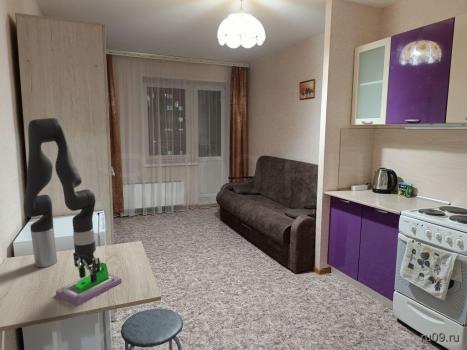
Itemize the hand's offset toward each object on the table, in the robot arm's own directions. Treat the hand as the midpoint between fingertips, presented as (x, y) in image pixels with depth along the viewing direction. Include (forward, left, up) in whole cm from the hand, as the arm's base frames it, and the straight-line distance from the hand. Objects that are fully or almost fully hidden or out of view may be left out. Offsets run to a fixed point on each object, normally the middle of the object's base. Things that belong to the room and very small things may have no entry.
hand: (88, 279), depth 130 cm
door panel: (-1, +1, -5) cm, 5 cm away
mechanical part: (0, +1, -2) cm, 3 cm away
